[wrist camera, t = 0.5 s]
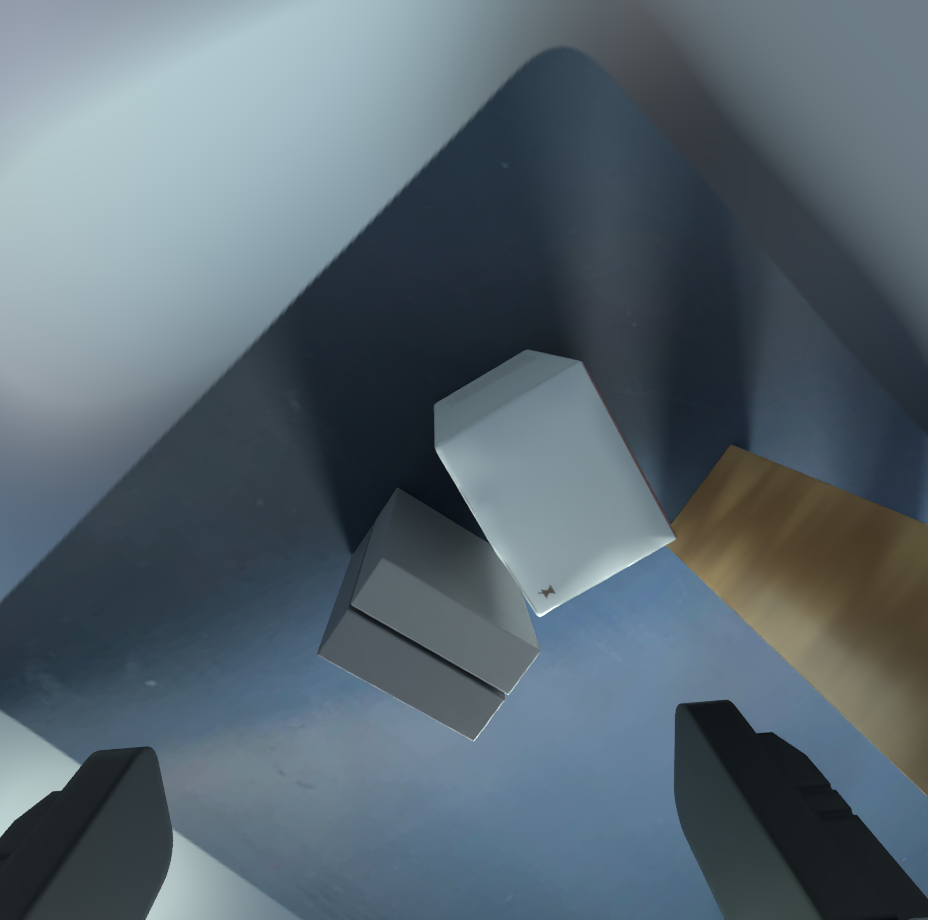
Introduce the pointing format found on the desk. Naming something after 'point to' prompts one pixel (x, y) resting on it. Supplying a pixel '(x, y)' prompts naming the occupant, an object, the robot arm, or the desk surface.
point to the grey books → (431, 618)
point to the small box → (548, 476)
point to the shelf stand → (822, 591)
